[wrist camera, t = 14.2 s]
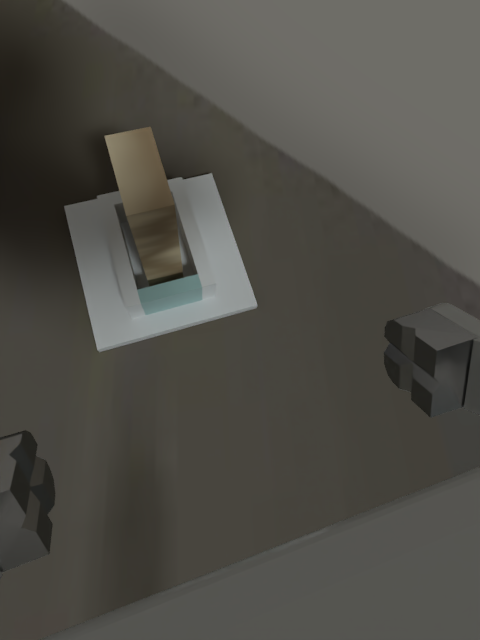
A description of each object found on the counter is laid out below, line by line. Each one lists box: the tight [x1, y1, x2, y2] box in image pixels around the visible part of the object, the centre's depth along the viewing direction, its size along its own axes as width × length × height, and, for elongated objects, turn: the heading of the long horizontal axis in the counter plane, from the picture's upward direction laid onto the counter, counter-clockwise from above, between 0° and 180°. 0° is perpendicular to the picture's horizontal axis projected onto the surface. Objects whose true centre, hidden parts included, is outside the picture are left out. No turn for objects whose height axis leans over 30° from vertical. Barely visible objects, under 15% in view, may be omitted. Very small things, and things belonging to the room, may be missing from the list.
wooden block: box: [104, 127, 184, 286], centre depth 33 cm, size 3×6×12 cm, turn 18°
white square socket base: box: [64, 173, 257, 352], centre depth 37 cm, size 14×14×4 cm
